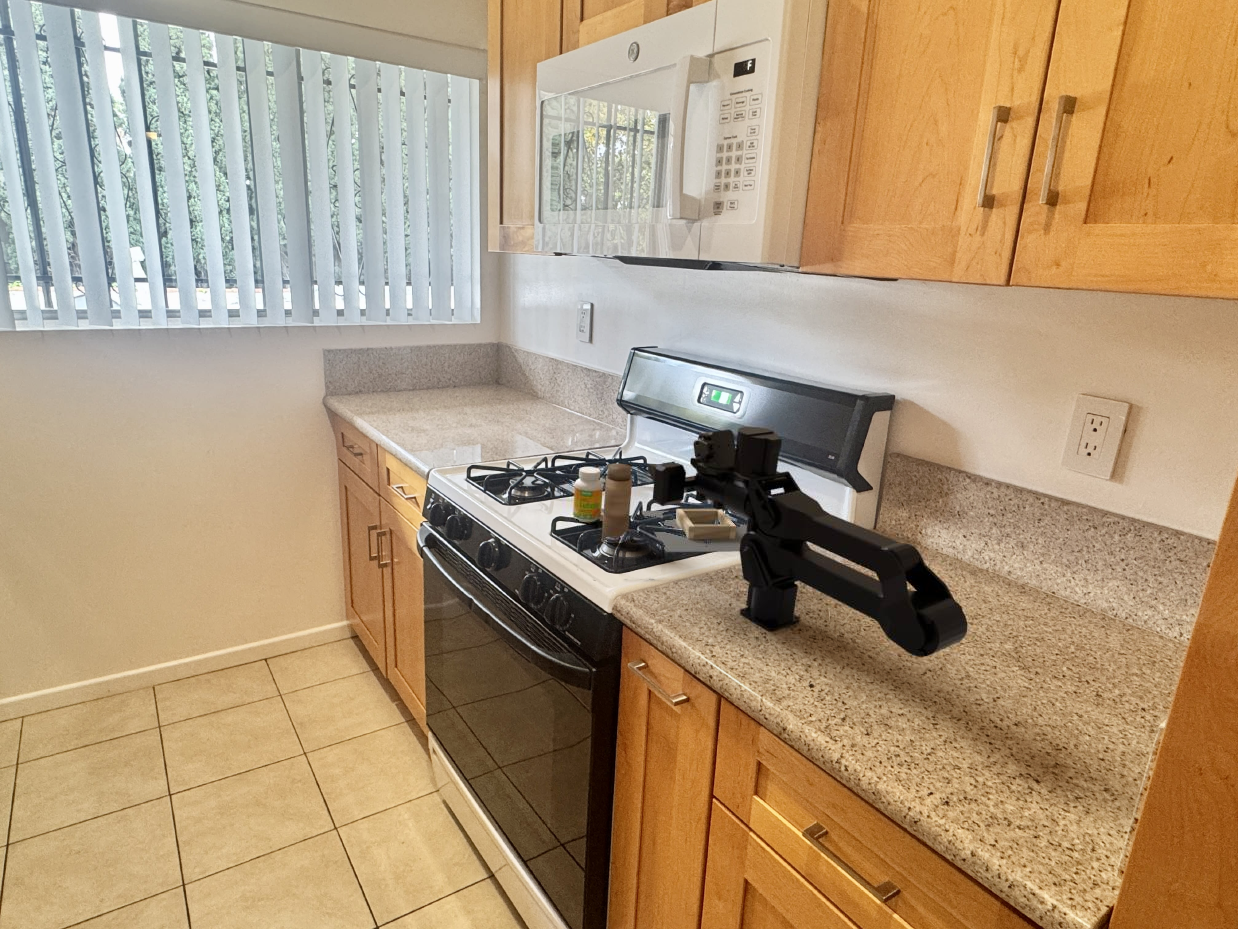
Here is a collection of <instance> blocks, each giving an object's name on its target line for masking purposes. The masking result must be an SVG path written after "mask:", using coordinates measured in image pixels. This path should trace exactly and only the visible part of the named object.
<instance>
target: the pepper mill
mask: <svg viewBox="0 0 1238 929" xmlns="http://www.w3.org/2000/svg"><path fill="white" fill-rule="evenodd" d="M607 468H608V469H607V474H606V476H605V486H604V487H605V488H604V497H603V498H604V499H603V516H602V518H603V519H602V528H601V529H602V531H601V543H602V542H604V540H605V538H606V537H610V538H619V537H620V536H622V535H623V534H624V533H625V532H626V531H628V532H629V524H630V523H629V522H630V513H631V512H630V509H631V502H632V501H631V500H632V498H631V497H632V485H633V478H632V476H631V475H632V466H630V465H628V464H624V463H611V464H609V465H608V466H607Z"/></svg>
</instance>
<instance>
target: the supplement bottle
mask: <svg viewBox="0 0 1238 929" xmlns="http://www.w3.org/2000/svg"><path fill="white" fill-rule="evenodd" d="M578 477H579V478H578V479H576V480H575V482H574V493H573V511H572V517H573V518H574V520H576V519H578V520H579V521H578V520H577V521H578V522H582V523H594V522H597V521H598V520H599V519H600V518H601V517H602V505H603V491H604V483H603V481H602V480H600V477H601V470H600V469H599V468H598V467H595V466H583V467H580V468H579V470H578Z"/></svg>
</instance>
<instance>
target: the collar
mask: <svg viewBox="0 0 1238 929" xmlns="http://www.w3.org/2000/svg"><path fill="white" fill-rule="evenodd" d="M675 511H676V519H675V521H676V523H677V524H678V526H679V527H680V529H682V530H683V531H684V532H685V534H686V537H687V539H708V538H709V539H735V534H736V525H735V524H734V523H733V522H732V521H731V519H730V518H729V517H728V516H727V515H726V514H725V513H724V512H723V511H724V509H720V510H717V509H715V508H676V509H675ZM716 519H718V521H719V522H720V524H692V523H712V522H713V521H714V520H716Z"/></svg>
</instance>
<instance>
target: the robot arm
mask: <svg viewBox="0 0 1238 929" xmlns="http://www.w3.org/2000/svg"><path fill="white" fill-rule="evenodd" d="M778 436H779V435H778V433H776V432H775V431H774V430H773V429H769V428H765V427H758V426H757V427H756V426H743V427H739V428H738V429H737V435H736V440H735V434H734V432H733V431H732V430H731V429H724V430H723V429H722V430H716V431H708V432H703V433H699V435H698V436H697V439H695V440H694V442H693V452H694V457H691V458H690V462H689V463H690V465H691V467H693V468H694V469H695V471H696V474H695V475H692V476H691V475H690V476H687V471H686V469H685V467H684V464H681V463H678V462H676V461H669V462H663V463H659V464H652V463H648V465H647V471H648V473H649V475H650V478H651V479H652V481H653V488H652V501H653V502H654V504H657V505H659V506H661V507H665V506H666V507H667V506H671V505H675V504H680V503H681V502H682V501H683V500H684V499H685V498H684V496H685V494H687V493H693V492H695V500H696V501H698V502H706V501H709V502H712V503H713V508H712V509H717V510H720V509H722V510H725V509H726V510H728V511H733V512H735V513H738V514H740V515H741V516H742V517H743V518H744V517H745V519H747V522H748V523H747V530H746V531H747V533H746V534H744V536H743V537H742V539H741V543H740V551H739V556H740V558H739V559H740V563H741V571H742V572H741V573H742V579H743V580H744V581H746V582H748V589H747V596H746V603H745V606H746V607H743V608H741V609H740V610H739V614H740V615H741V616H744V617H745V618H747V619H748V620H750V621H752V622H754V623H755V624H757V625H758V626H760V627H762V628H763V629H765V630H767V631H769V632H774V631H777V630H779V629H782V628H785V627H788V626H791V625H793V624H797V623H799V622H800V621H801V618H800V617H799V616H798V615H796V614H795V608H796V602H797V596H798V590H799V585H798V584H797V582H800V583H802V584H804V585H806V586H808V587H809V588H812V589H813V590H816V591H818V592H820V593H821V594H824V595H826V596H828V597H829V598H832V599H834V600H836V601H837V602H840V603H841V604H843V605H845V606H847V607H849V608H850V609H853V610H855V611H857V612H859V613H861V614H863V615H865V616H867V617H869V618H871V619H872V620H874V621H876V623H877V624H878V625H879V626H880V628H881V629H882V631H883V633H884V635H885V636H886V637H887V638H888V639H889V640H890V641H891V642H893V643H894V644H895V645H897V646H898V647H899V648H901V649H902V650H904V651H905V652H906V653H908V654H909V655H910V656H911V655H912V656H914V657H918V658H925V657H929V656H930V655H934V654H935V653H938V652H940V651H942V650H945V649H946V648H948V647H952V646H953V645H955V644H958V643H960V642H961V641H962V640H963V639H964V638H965V637H966V634H967V633H968V619H967V616H966V614H965V612H964V611H963V607H962V606H961V605H960V603H958V602H957V601H956V599H955V598H954V596H953V594H952V593H951V591H950V589H949V587H948V585H947V584H946V583H945V581H943V580H942V579H941V578H940V577H939V576H938V575H937V574H936V573H935V572H934V571H933V570H932V569H931V568H930V567H929V566H927V564H926V563H925V562H926V561H924V559H923V556H922V555H921V553H920V551H919V550H918V549H917V548H916V547H915V546H914V545H912V544H910V543H906V542H902V541H901V542H900V541H897V540H895V539H893V538H890V537H888V536H884V535H882V534H880V533H877V532H876V531H873V530H870V529H868V528H866V527H863V526H861V525H858V524H855V523H854V522H851V521H848V520H846V519H843V518H841V517H838V516H836V515H833V514H832V513H830V512H828V511H826V510H825V509H824V508H823V507H822V506H821V504H820V502H819V501H817V500H816V499H814V498H813V497H812V496H810V495H808V494H806V493H805V492H803V491H802V490H801V488H800V486H799V485H798V483H797V482H796V480H795V479H794V477H793V476H792V474H791V473H790V472H789V471H788V470H787V471H782V472H781V471H778V465H779V464H778V463H779V456H780V452H781V449H782V443H783V440H782V438H780V437H778ZM778 489H783V491H782V492H778V493H772V491H774V490H778ZM808 543H810V544H812V545H814V546H817V547H818V548H821V549H823V550H825V551H827V552H829V553H832V554H834V555H837V556H838V557H841V558H842V559H845V560H847V561H850V562H851V563H854V564H855V565H857V566H861V567H863V568H865V569H868V570H869V571H871V572H873V573H874V574H875V575H876V577H877V579H876V578H874V577H872V576H870V575H868V574H866V573H864V572H861V571H859V570H857V569H855V568H853V567H851V566H849V565H847V564H844V563H842V562H840V561H838V560H836V559H833V558H831V557H829V556H827V555H825V554H823V553H820V552H818V551H816V550H814V549H812V548H811V547H810V546H809V544H808ZM908 584H909V585H910V586H912V588H913V590H911V589H910V590H909V589H908Z"/></svg>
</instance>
